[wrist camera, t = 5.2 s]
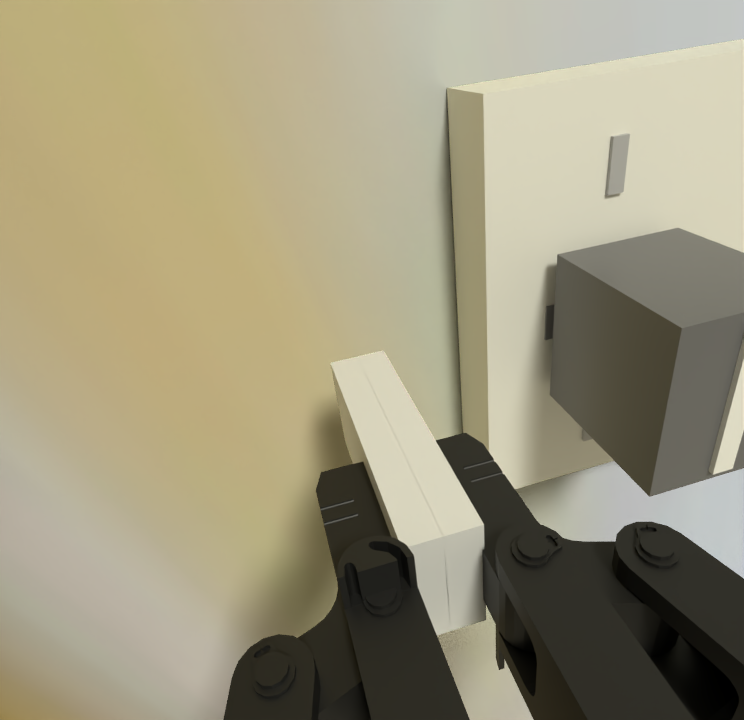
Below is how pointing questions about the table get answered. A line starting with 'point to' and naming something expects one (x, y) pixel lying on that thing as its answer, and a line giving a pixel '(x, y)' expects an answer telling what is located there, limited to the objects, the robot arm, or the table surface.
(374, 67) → the table surface
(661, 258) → the fader tab
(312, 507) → the table surface
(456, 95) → the console
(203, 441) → the table surface
